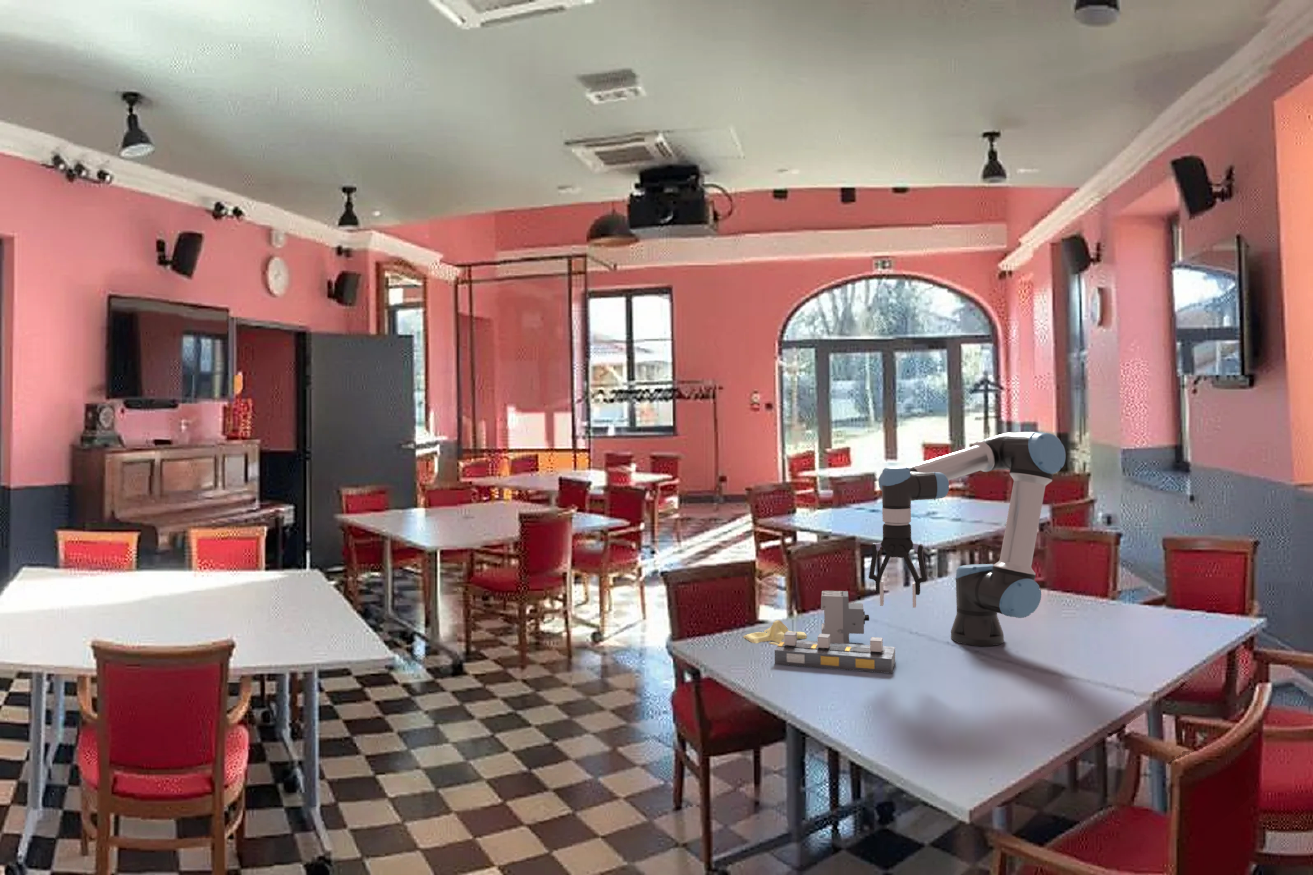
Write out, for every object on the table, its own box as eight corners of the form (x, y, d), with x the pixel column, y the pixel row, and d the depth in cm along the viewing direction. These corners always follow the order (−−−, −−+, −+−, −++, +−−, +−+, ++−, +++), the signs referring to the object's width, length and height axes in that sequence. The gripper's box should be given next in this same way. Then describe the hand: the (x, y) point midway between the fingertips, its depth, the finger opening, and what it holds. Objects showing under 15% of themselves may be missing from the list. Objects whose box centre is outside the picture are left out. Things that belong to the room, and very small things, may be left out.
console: (895, 661, 239) (895, 646, 239) (891, 674, 227) (891, 658, 227) (783, 652, 250) (783, 638, 250) (774, 664, 238) (774, 649, 238)
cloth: (734, 642, 265) (734, 622, 264) (764, 629, 279) (764, 610, 279) (798, 652, 251) (797, 632, 251) (826, 638, 266) (825, 619, 265)
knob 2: (830, 644, 241) (830, 634, 241) (828, 648, 237) (828, 637, 237) (819, 644, 242) (819, 633, 242) (817, 647, 238) (817, 636, 238)
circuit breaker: (869, 646, 254) (869, 596, 254) (821, 644, 257) (820, 596, 256) (868, 639, 261) (868, 591, 261) (821, 638, 264) (821, 590, 264)
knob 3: (882, 648, 236) (882, 637, 236) (881, 652, 232) (881, 641, 232) (871, 647, 237) (871, 637, 237) (870, 651, 233) (870, 640, 233)
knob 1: (797, 642, 244) (797, 632, 244) (794, 645, 241) (794, 635, 240) (786, 641, 245) (786, 631, 245) (784, 645, 242) (784, 634, 241)
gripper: (937, 522, 231) (938, 604, 232) (859, 520, 238) (861, 600, 239) (936, 526, 224) (937, 611, 225) (856, 524, 231) (857, 606, 232)
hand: (898, 605), depth 232 cm, fingers open, 8 cm apart
